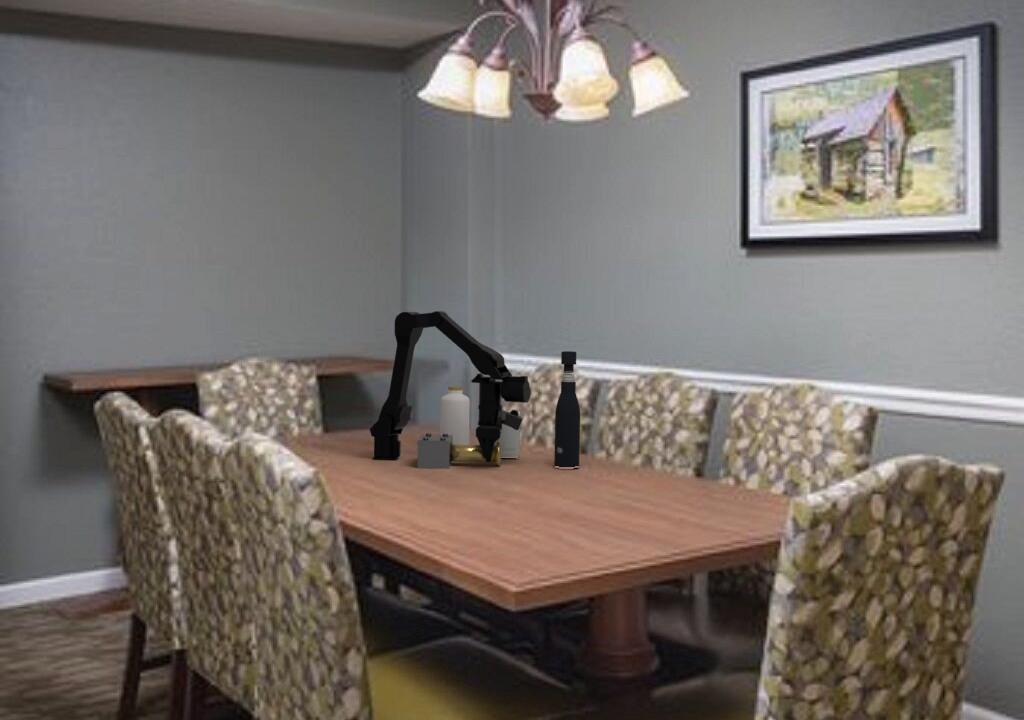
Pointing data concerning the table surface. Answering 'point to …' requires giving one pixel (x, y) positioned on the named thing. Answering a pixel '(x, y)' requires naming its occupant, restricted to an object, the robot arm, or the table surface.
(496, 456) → the brass cylinder
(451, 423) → the white bottle
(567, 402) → the black water bottle
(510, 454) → the supplement box
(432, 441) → the housing
